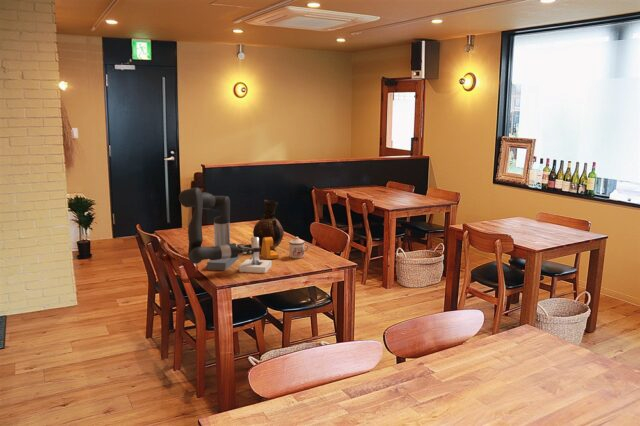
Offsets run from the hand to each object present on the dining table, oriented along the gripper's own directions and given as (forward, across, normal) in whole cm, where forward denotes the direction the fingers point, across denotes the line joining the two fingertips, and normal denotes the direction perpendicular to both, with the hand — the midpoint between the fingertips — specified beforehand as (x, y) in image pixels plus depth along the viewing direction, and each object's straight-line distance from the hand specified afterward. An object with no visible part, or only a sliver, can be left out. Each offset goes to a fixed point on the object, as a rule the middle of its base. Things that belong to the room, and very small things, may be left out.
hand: (256, 247), depth 303 cm
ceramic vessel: (+25, +36, +12) cm, 46 cm away
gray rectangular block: (-12, +18, +12) cm, 24 cm away
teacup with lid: (+32, +11, +12) cm, 36 cm away
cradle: (0, 0, +12) cm, 12 cm away
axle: (0, 0, +12) cm, 12 cm away
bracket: (+17, +17, +12) cm, 27 cm away
